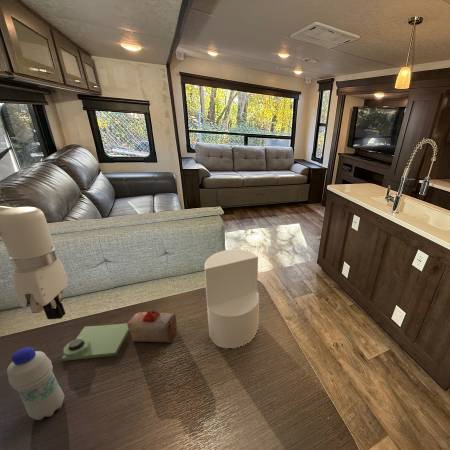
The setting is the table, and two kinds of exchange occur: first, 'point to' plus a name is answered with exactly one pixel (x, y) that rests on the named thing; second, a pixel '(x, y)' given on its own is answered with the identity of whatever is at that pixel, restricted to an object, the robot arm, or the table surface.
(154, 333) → the food item
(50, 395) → the bottle
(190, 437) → the table surface
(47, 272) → the robot arm
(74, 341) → the tare button
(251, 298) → the cylinder
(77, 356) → the scale
